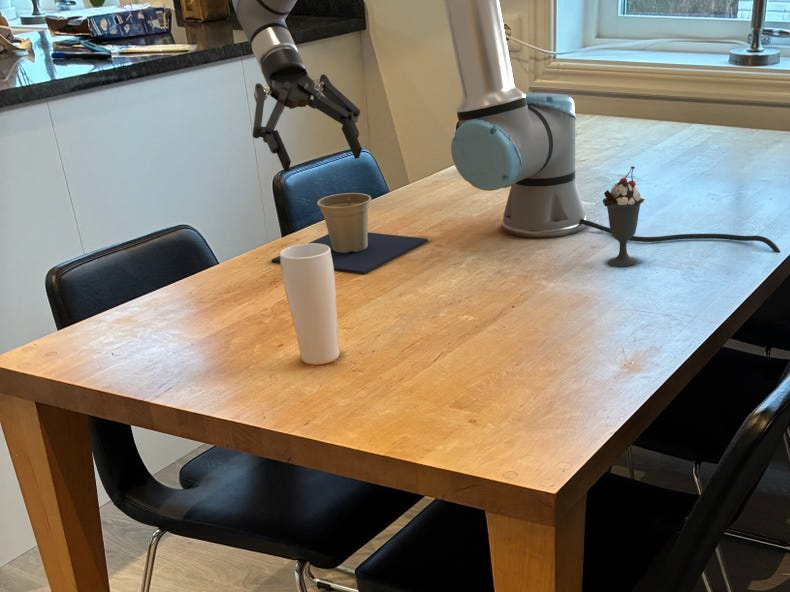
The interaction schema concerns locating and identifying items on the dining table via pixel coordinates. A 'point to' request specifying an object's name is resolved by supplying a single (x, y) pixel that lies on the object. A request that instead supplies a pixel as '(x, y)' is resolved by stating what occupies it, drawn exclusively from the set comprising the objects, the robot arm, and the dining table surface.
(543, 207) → the robot arm
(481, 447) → the dining table surface
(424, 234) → the dining table surface
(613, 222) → the sundae
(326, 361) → the white vase
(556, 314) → the dining table surface
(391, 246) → the placemat
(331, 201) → the flower pot
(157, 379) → the dining table surface
